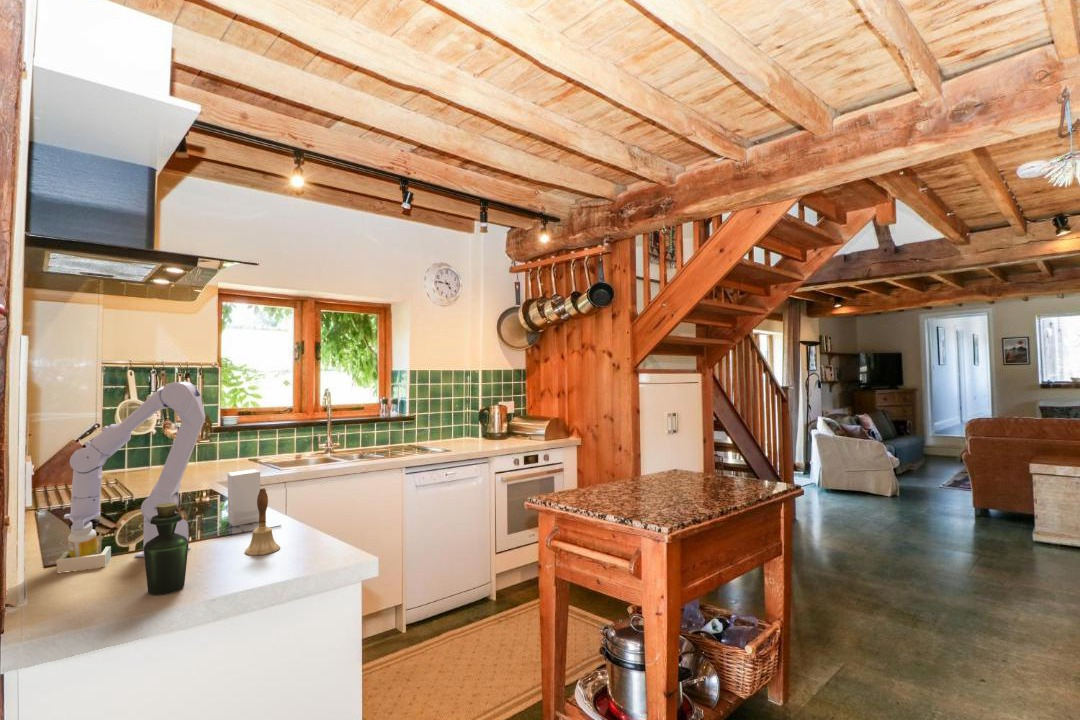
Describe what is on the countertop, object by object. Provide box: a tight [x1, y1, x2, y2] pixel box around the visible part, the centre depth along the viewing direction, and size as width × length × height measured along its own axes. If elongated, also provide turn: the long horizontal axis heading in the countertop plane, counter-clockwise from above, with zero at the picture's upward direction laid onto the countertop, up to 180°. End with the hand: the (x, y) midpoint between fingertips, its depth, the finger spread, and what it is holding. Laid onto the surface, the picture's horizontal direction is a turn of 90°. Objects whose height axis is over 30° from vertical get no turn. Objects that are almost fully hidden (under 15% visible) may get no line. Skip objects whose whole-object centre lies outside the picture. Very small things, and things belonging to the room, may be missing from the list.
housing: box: [56, 545, 112, 573], centre depth 137 cm, size 8×9×3 cm
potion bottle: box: [143, 503, 190, 596], centre depth 121 cm, size 8×8×18 cm
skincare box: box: [227, 468, 261, 527], centre depth 176 cm, size 8×7×16 cm
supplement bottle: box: [67, 521, 99, 558], centre depth 138 cm, size 5×5×10 cm
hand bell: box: [244, 487, 281, 556], centre depth 148 cm, size 8×8×16 cm
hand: (82, 551), depth 141 cm, fingers closed, pressing on supplement bottle
